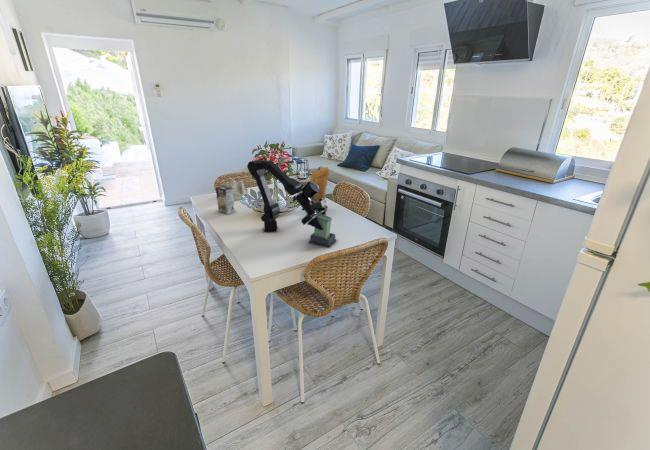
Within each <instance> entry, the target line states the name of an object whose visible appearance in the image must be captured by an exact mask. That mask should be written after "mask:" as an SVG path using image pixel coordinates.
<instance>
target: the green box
mask: <svg viewBox="0 0 650 450" xmlns="http://www.w3.org/2000/svg"><path fill="white" fill-rule="evenodd" d="M316 216H317V221H318V222H319V224H320V225H321V227H322V229H323V230H319V229H317V228H315V227H314V228H313V229H314V231H313V233H314V236H317V237H321V238H326V239H329V236H330V233H331V227H332V220H333V217H330V216H327V215H326V216H325V215H323V214H318V215H315V216H314V217H316Z"/></svg>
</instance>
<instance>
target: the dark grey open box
mask: <svg viewBox="0 0 650 450" xmlns="http://www.w3.org/2000/svg"><path fill="white" fill-rule="evenodd" d="M336 242H337V239H336V233H331V232H330V236H329V239H326V238H321V237H317V236H314V232H313V233H311V235H310V236H309V241H308V243H309V244H313V245H318V246H320V247H321V246H322V247H326V248H331V247H332V246H333V245H334V244H335V243H336Z"/></svg>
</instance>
